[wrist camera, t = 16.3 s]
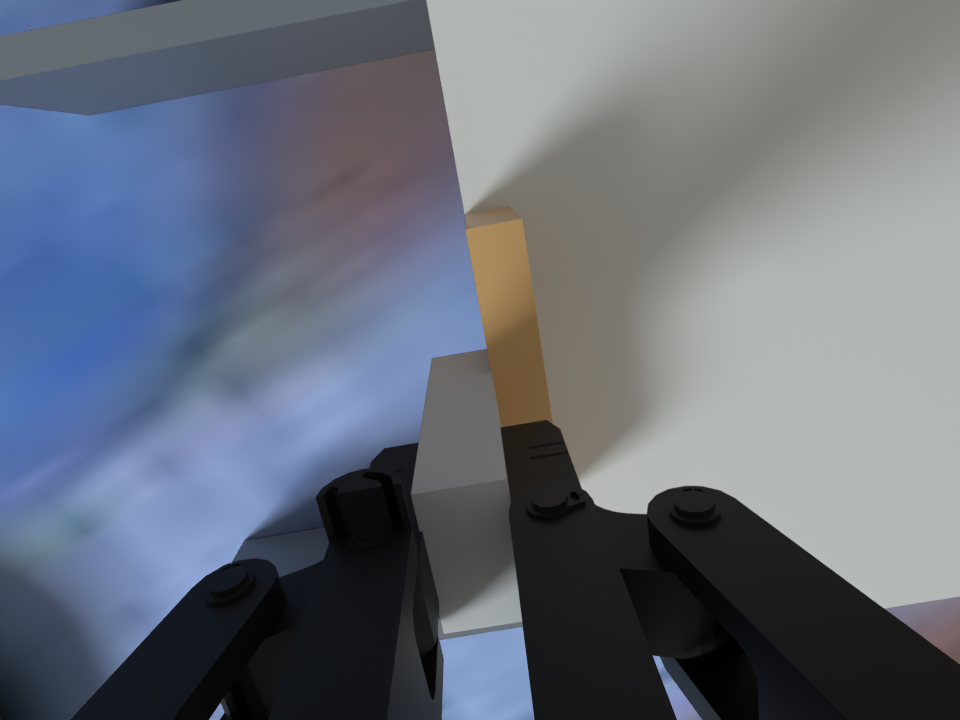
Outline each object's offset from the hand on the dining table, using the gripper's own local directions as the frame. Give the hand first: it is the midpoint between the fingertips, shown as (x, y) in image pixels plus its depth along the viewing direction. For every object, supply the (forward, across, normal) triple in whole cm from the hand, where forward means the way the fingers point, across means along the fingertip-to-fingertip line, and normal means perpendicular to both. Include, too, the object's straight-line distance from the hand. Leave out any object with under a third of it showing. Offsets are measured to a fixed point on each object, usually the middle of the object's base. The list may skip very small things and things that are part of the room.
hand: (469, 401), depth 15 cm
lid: (+3, -9, 0) cm, 10 cm away
